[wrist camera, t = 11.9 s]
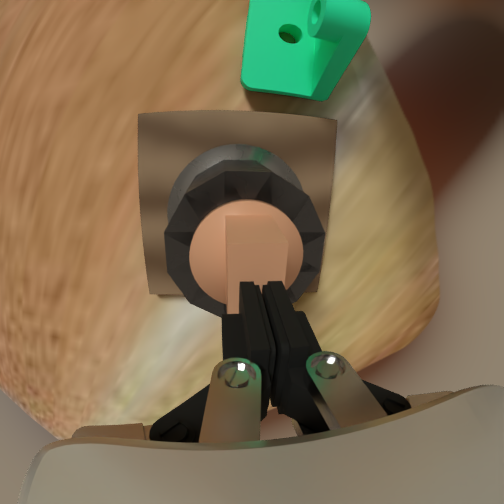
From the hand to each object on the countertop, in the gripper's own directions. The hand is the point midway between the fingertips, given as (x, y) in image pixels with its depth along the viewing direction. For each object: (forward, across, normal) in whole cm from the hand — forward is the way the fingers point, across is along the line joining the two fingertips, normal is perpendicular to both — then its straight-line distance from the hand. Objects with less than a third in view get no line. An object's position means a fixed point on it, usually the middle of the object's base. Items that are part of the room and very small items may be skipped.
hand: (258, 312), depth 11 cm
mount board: (+17, 0, 0) cm, 17 cm away
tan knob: (+10, 0, 0) cm, 10 cm away
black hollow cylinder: (+16, 0, 0) cm, 16 cm away
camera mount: (+18, -4, -17) cm, 25 cm away
